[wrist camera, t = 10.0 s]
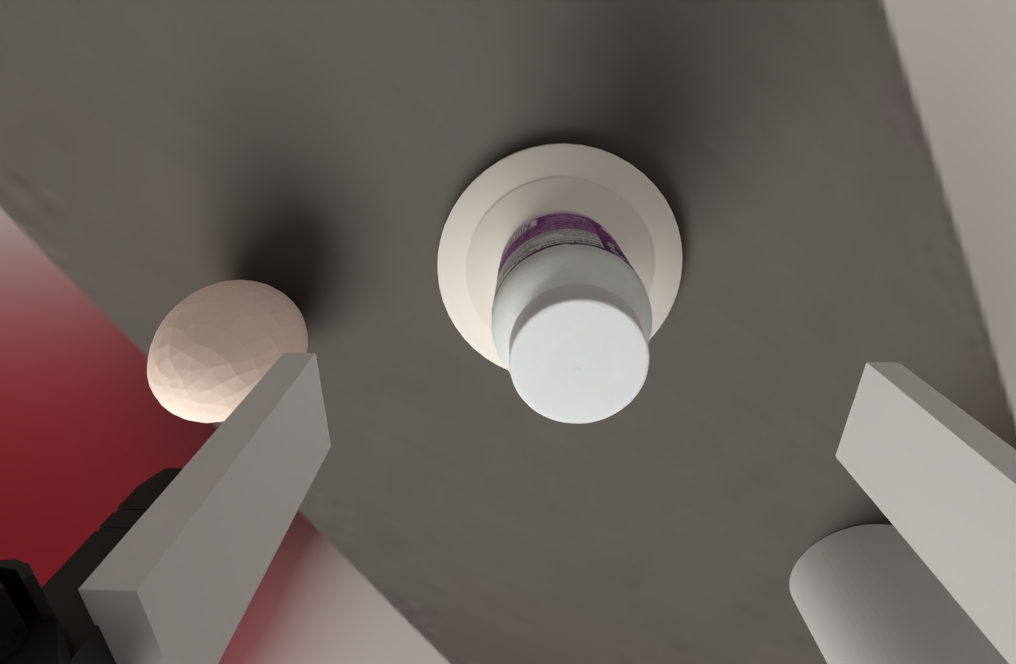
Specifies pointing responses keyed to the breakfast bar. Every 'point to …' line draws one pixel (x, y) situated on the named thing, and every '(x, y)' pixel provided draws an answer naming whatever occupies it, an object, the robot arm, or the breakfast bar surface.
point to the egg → (221, 347)
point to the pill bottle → (571, 318)
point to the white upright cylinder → (882, 603)
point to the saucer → (542, 188)
